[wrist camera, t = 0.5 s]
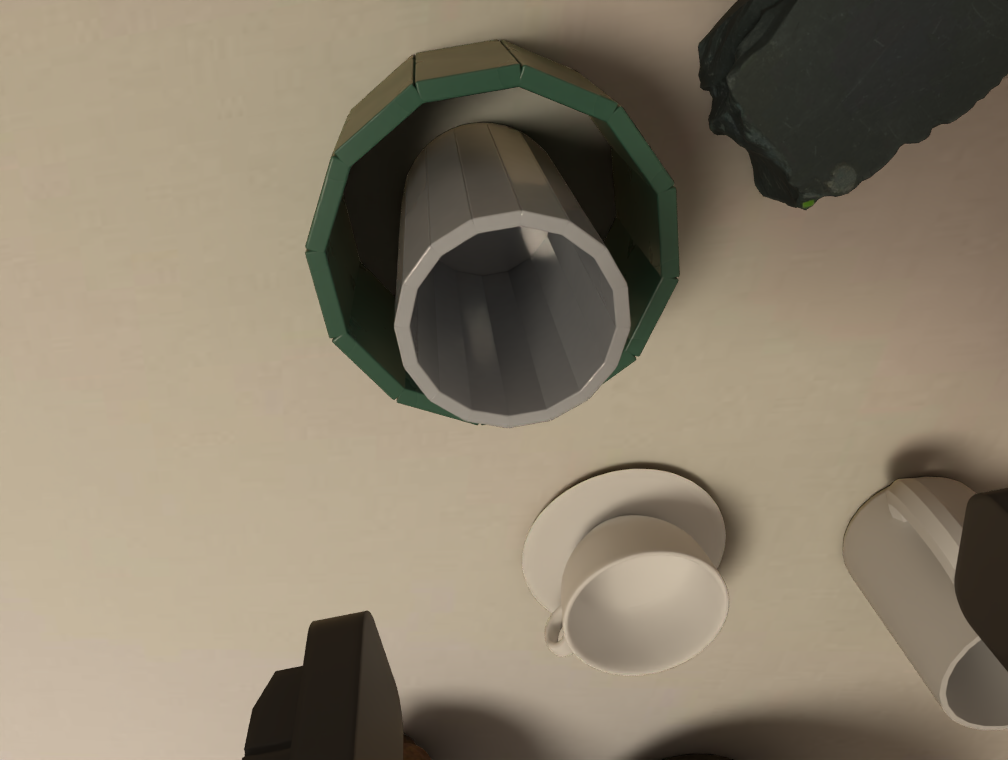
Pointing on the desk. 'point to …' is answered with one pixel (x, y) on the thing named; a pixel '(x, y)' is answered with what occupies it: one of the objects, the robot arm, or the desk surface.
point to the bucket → (456, 73)
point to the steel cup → (503, 282)
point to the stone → (845, 83)
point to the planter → (698, 757)
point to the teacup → (629, 571)
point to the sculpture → (413, 750)
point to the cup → (927, 593)
